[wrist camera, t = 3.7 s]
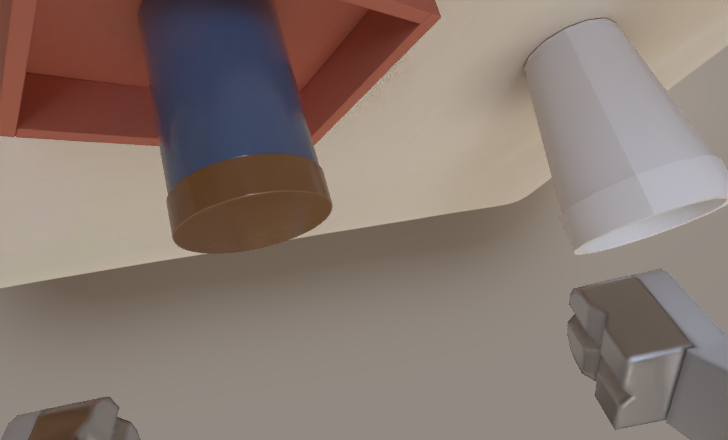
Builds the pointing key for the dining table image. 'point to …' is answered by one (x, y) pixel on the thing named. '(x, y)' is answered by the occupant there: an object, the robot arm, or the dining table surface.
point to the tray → (129, 76)
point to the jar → (230, 125)
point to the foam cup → (617, 141)
